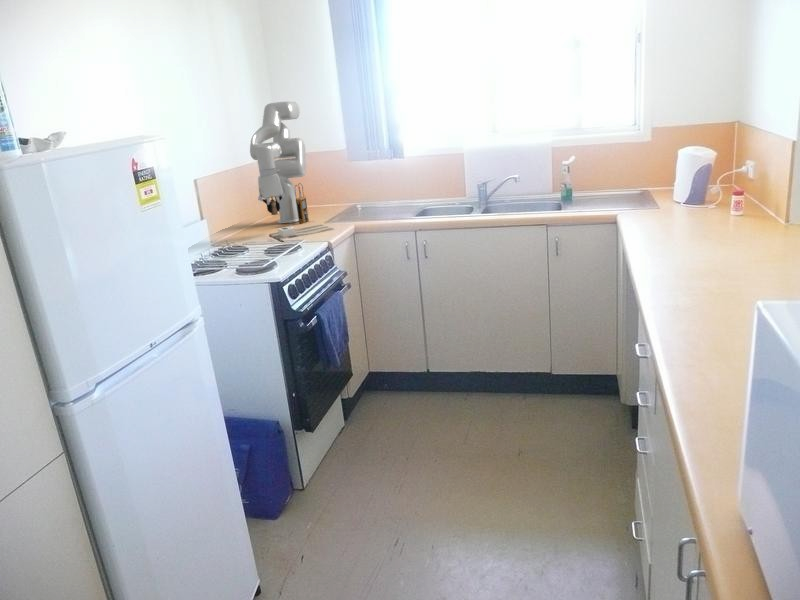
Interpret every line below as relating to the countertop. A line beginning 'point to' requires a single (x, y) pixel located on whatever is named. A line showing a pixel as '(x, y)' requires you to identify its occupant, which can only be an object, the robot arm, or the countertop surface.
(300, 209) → the multimeter
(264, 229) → the countertop surface
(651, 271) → the countertop surface
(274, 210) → the awl
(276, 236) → the subfloor panel
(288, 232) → the thermostat
